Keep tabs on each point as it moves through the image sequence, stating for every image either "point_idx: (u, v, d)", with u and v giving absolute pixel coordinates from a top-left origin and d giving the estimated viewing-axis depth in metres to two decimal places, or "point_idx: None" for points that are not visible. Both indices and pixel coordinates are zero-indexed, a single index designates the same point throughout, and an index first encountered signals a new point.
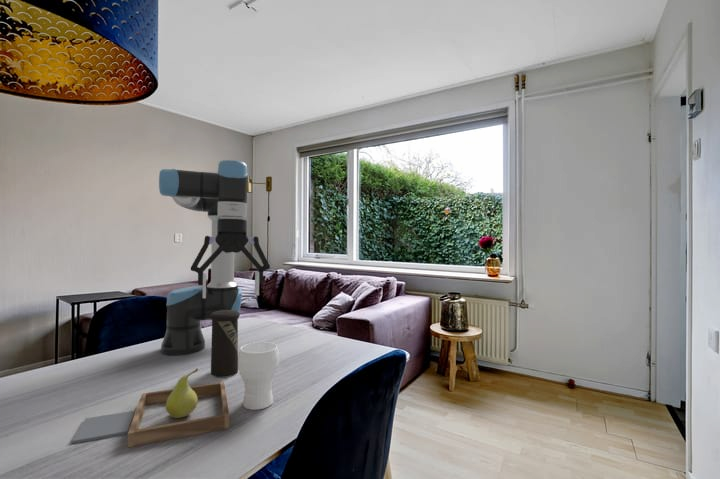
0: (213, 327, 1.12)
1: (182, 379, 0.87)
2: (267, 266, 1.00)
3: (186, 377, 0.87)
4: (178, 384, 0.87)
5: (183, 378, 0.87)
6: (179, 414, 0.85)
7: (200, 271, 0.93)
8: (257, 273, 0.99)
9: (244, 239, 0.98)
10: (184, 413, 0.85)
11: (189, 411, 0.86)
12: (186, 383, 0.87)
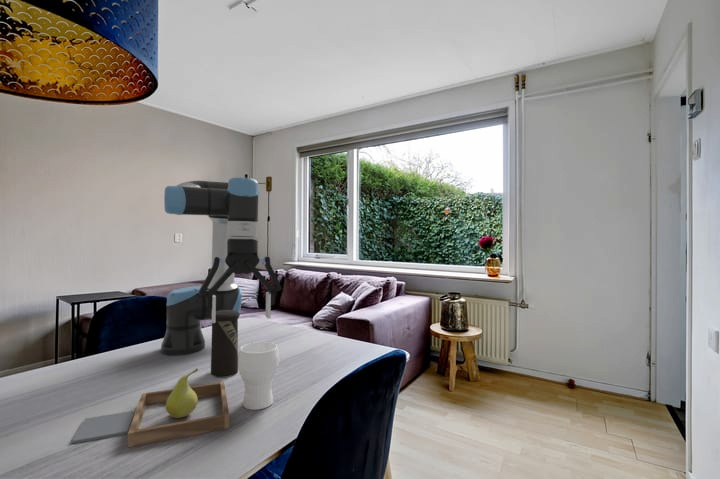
0: (213, 327, 1.12)
1: (182, 379, 0.87)
2: (279, 287, 0.96)
3: (186, 377, 0.87)
4: (178, 384, 0.87)
5: (183, 378, 0.87)
6: (179, 414, 0.85)
7: (210, 294, 0.88)
8: (268, 295, 0.95)
9: (255, 260, 0.93)
10: (184, 413, 0.85)
11: (189, 411, 0.86)
12: (186, 383, 0.87)
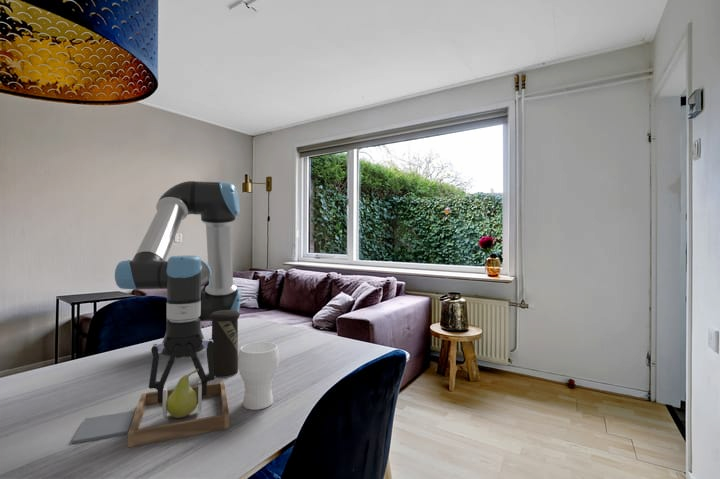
0: (213, 327, 1.12)
1: (183, 379, 0.87)
2: (211, 377, 0.89)
3: (187, 377, 0.87)
4: (179, 384, 0.87)
5: (184, 378, 0.87)
6: (180, 413, 0.85)
7: (160, 388, 0.85)
8: (199, 386, 0.88)
9: (197, 341, 0.88)
10: (185, 413, 0.86)
11: (190, 411, 0.86)
12: (187, 383, 0.87)
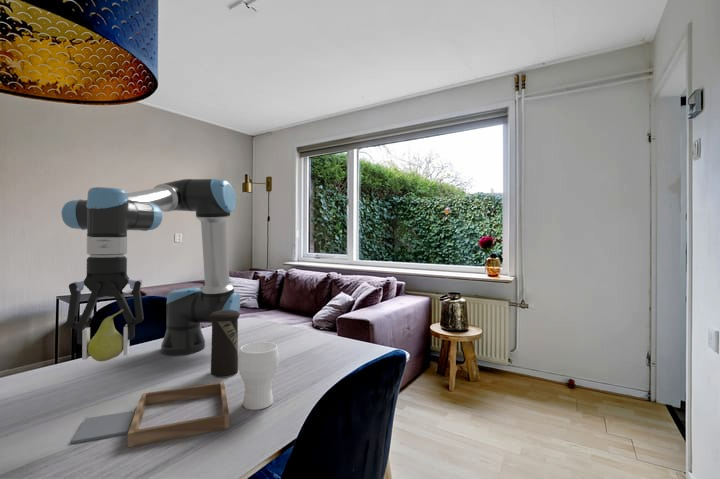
0: (213, 327, 1.12)
1: (106, 320, 0.81)
2: (139, 319, 0.83)
3: (110, 318, 0.81)
4: (101, 325, 0.81)
5: (107, 319, 0.81)
6: (101, 355, 0.79)
7: (79, 328, 0.79)
8: (124, 328, 0.82)
9: (122, 280, 0.82)
10: (107, 355, 0.80)
11: (113, 354, 0.81)
12: (110, 324, 0.81)
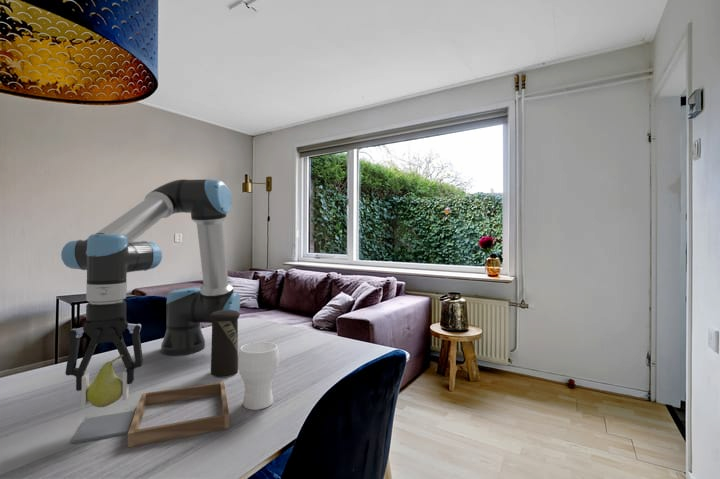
0: (213, 327, 1.12)
1: (105, 365, 0.81)
2: (138, 363, 0.83)
3: (110, 363, 0.81)
4: (100, 371, 0.81)
5: (106, 364, 0.81)
6: (100, 402, 0.79)
7: (78, 375, 0.79)
8: (124, 373, 0.82)
9: (121, 325, 0.82)
10: (106, 402, 0.80)
11: (112, 400, 0.81)
12: (110, 370, 0.81)
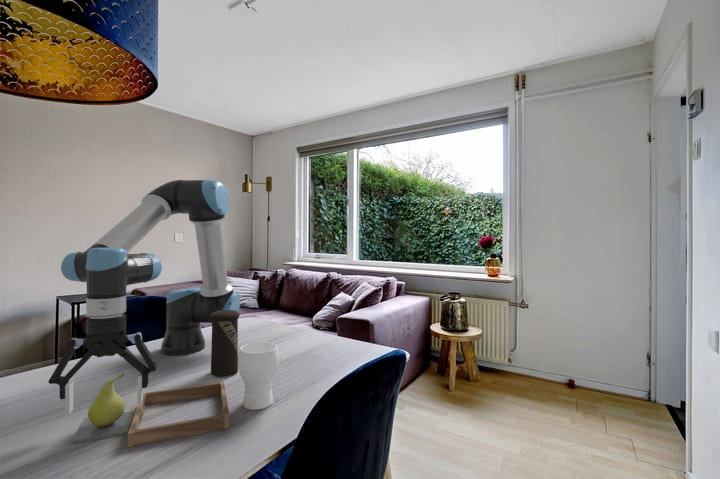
0: (213, 327, 1.12)
1: (106, 385, 0.81)
2: (152, 368, 0.85)
3: (111, 383, 0.82)
4: (102, 390, 0.81)
5: (107, 384, 0.81)
6: (101, 422, 0.79)
7: (62, 383, 0.78)
8: (139, 378, 0.84)
9: (121, 339, 0.82)
10: (107, 421, 0.80)
11: (113, 419, 0.81)
12: (111, 389, 0.82)
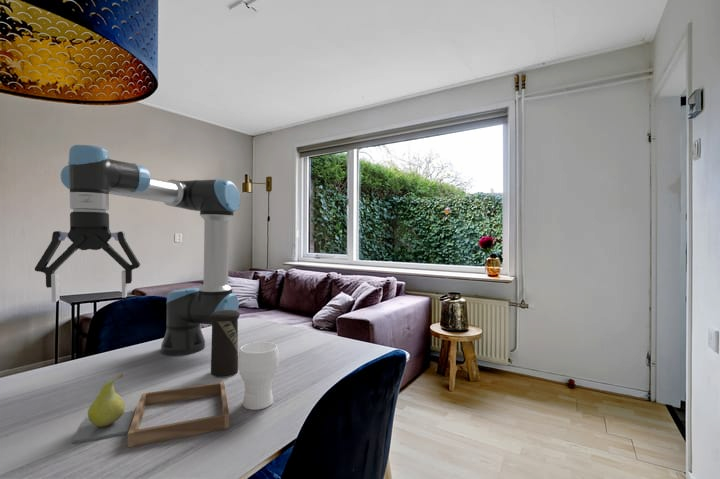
0: (213, 327, 1.12)
1: (106, 385, 0.81)
2: (135, 265, 0.89)
3: (110, 383, 0.82)
4: (101, 390, 0.81)
5: (107, 384, 0.81)
6: (101, 422, 0.79)
7: (47, 271, 0.82)
8: (122, 273, 0.88)
9: (105, 235, 0.86)
10: (107, 421, 0.80)
11: (113, 419, 0.81)
12: (111, 389, 0.82)
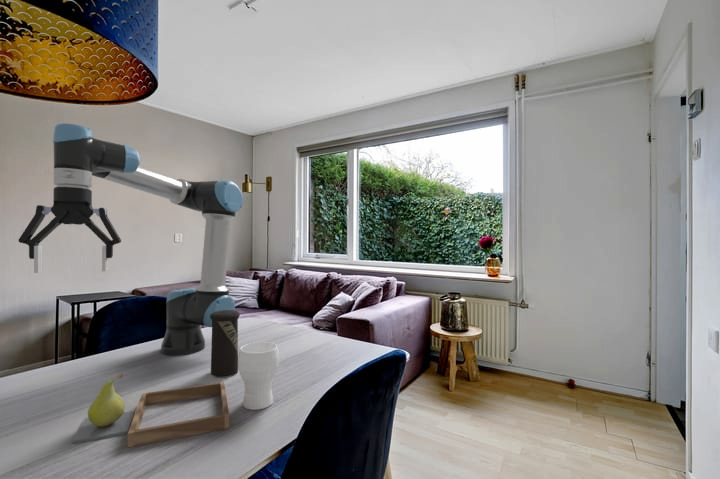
0: (213, 327, 1.12)
1: (106, 385, 0.81)
2: (116, 240, 0.93)
3: (110, 383, 0.82)
4: (101, 390, 0.81)
5: (107, 384, 0.81)
6: (101, 422, 0.79)
7: (31, 243, 0.86)
8: (103, 247, 0.92)
9: (86, 210, 0.90)
10: (107, 421, 0.80)
11: (113, 419, 0.81)
12: (111, 389, 0.82)
